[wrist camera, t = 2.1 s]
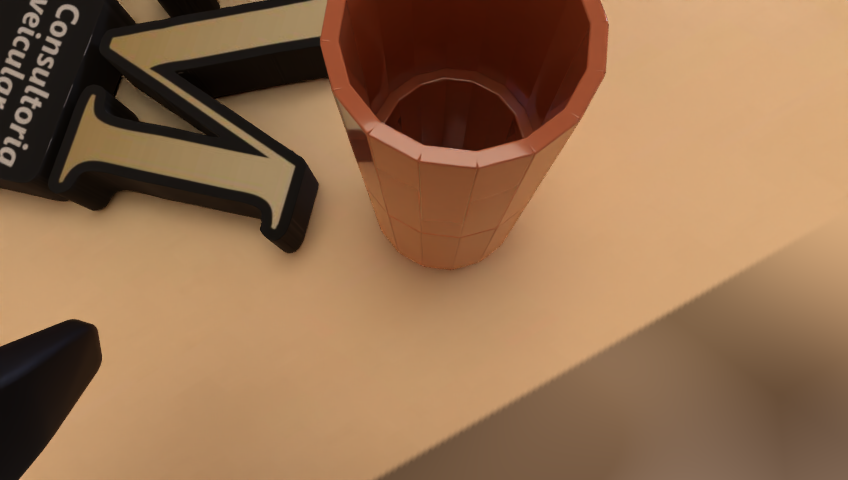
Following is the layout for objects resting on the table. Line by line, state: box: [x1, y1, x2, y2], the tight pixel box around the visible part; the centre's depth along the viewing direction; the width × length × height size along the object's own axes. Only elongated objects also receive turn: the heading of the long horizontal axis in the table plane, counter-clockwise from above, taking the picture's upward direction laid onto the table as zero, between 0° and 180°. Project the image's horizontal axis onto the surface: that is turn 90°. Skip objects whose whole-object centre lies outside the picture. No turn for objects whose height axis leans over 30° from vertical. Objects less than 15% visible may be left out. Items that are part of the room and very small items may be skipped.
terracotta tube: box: [320, 0, 609, 270], centre depth 18 cm, size 6×6×13 cm
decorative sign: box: [0, 0, 328, 253], centre depth 25 cm, size 17×2×20 cm
